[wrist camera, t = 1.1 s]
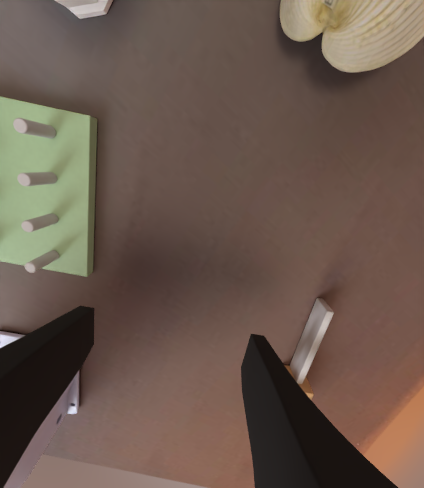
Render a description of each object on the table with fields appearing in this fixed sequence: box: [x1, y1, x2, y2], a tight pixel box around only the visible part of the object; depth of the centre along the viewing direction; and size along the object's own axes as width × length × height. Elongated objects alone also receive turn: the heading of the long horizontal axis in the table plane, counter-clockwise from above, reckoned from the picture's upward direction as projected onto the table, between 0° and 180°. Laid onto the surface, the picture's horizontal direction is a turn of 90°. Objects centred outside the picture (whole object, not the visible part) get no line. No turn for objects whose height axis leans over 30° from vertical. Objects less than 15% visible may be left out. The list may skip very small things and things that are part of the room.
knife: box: [284, 298, 334, 399], centre depth 21 cm, size 13×2×3 cm, turn 169°
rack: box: [0, 96, 97, 277], centre depth 16 cm, size 12×10×4 cm
